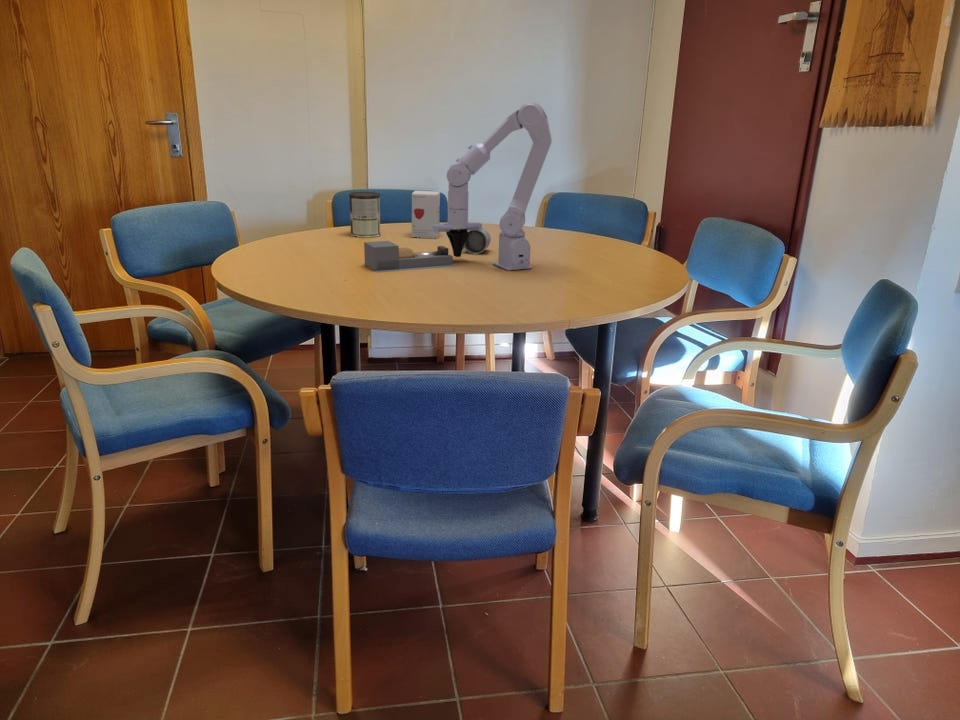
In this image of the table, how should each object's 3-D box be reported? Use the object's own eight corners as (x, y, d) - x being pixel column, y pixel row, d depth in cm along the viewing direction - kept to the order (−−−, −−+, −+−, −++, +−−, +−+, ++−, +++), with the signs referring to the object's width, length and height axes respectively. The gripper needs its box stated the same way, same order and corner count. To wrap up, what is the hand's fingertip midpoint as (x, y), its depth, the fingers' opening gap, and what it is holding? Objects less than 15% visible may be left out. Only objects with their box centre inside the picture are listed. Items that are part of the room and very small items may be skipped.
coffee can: (344, 234, 240) (343, 192, 235) (370, 231, 247) (369, 191, 242) (360, 238, 233) (358, 195, 228) (386, 236, 239) (385, 194, 234)
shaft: (448, 262, 197) (448, 248, 196) (416, 264, 193) (416, 250, 192) (442, 259, 201) (442, 245, 199) (411, 262, 196) (411, 247, 195)
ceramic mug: (491, 250, 221) (491, 225, 218) (486, 255, 213) (487, 229, 210) (458, 248, 222) (458, 224, 220) (452, 253, 215) (452, 228, 212)
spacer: (412, 266, 193) (412, 250, 191) (399, 267, 191) (398, 251, 189) (407, 263, 196) (407, 247, 194) (394, 264, 194) (393, 248, 193)
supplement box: (410, 238, 237) (410, 193, 232) (414, 233, 246) (414, 190, 241) (437, 238, 237) (437, 194, 232) (439, 234, 245) (440, 191, 240)
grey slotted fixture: (458, 267, 195) (459, 243, 192) (376, 274, 184) (376, 248, 182) (441, 259, 205) (441, 236, 202) (362, 265, 194) (361, 240, 192)
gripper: (474, 205, 202) (473, 252, 207) (428, 207, 196) (428, 255, 200) (485, 208, 196) (484, 256, 201) (438, 210, 190) (438, 260, 194)
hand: (457, 256), depth 200 cm, fingers closed
